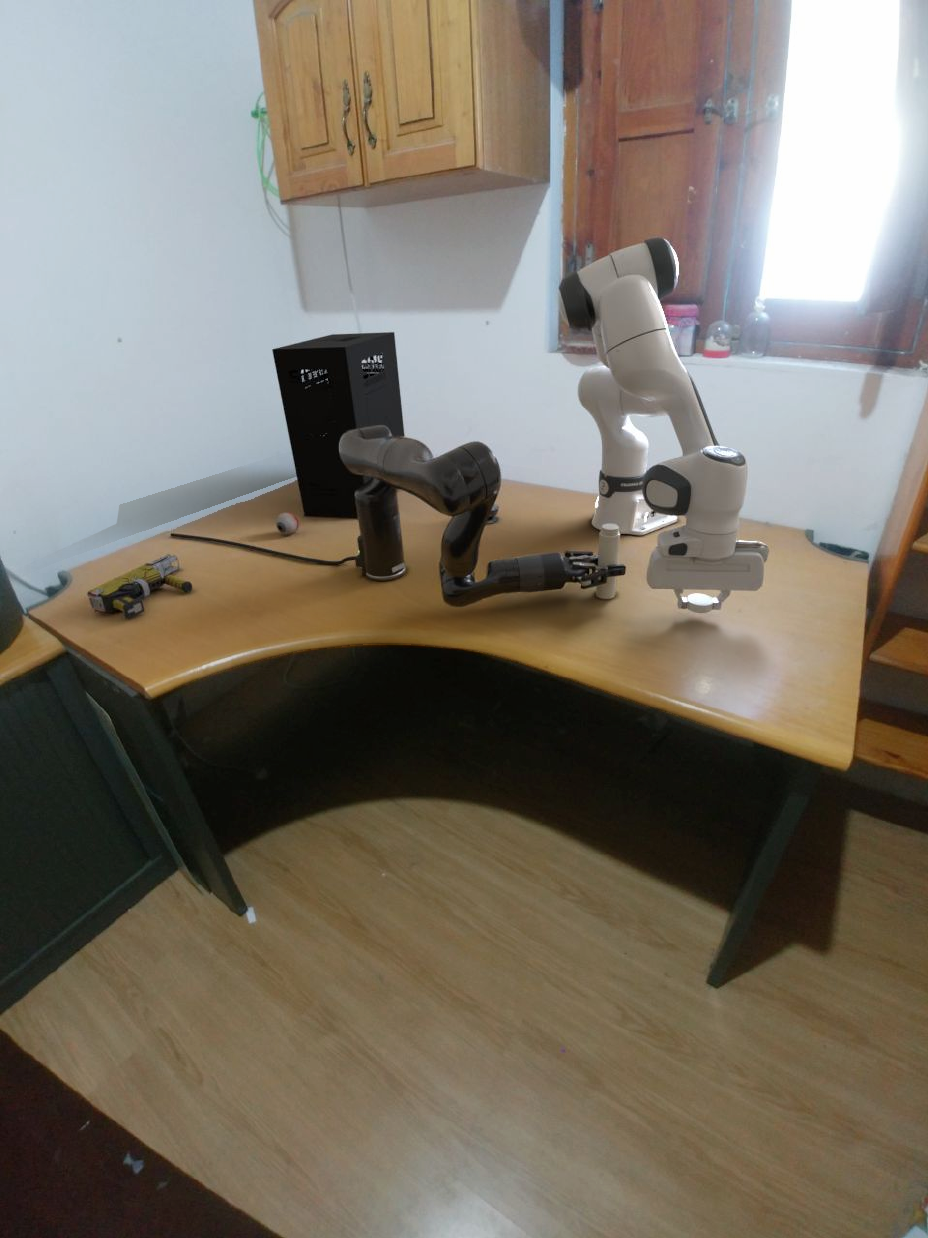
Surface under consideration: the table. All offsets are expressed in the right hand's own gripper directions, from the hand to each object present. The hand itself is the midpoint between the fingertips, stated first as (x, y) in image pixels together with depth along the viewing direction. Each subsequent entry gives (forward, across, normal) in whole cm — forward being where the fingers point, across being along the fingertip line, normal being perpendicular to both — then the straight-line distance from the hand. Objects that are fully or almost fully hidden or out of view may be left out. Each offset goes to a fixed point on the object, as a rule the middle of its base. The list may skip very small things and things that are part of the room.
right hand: (698, 608), depth 115 cm
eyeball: (+2, +100, -40) cm, 107 cm away
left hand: (-4, +14, -9) cm, 18 cm away
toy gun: (+2, +117, -4) cm, 117 cm away
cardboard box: (+2, +89, -72) cm, 115 cm away
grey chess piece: (+2, +46, -51) cm, 69 cm away
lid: (-2, 0, 0) cm, 2 cm away
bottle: (+2, +17, -9) cm, 19 cm away
